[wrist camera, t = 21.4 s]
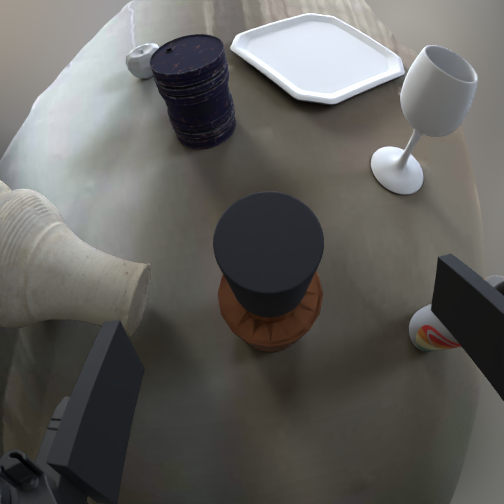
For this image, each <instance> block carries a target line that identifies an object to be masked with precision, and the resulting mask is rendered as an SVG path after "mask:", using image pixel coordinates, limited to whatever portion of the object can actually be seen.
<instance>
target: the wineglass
mask: <svg viewBox="0 0 504 504" xmlns="http://www.w3.org/2000/svg"><path fill="white" fill-rule="evenodd" d="M477 82H478V77H477V74H476V72H475V70H474V69H473V67H472V66H471V65H470V64H469V63H468V62H467V61H466V60H465V59H463V58H462V57H461V56H459V55H458V54H456V53H455V52H452V51H451V50H449V49H446V48H444V47H441V46H437V45H428V46H426V47H425V48H424V49H423V50H422V51H421V52H420V54H419V55H418V56H417V58H416V59H415V61H414V62H413V64H412V66H411V67H410V69H409V71H408V73H407V76H406V78H405V81H404V84H403V87H402V91H401V97H400V102H401V108H402V111H403V114H404V116H405V118H406V120H407V121H408V123H409V124H410V125H411V126H412V127H413V128H414V131H413V134H412V137H411V139H410V141H409V143H408V145H407V147H406V148H405V150H402V149H400V148H396V147H383V148H380V149H378V150H377V151H376V152H375V153H374V154H373V156H372V159H371V168H372V171H373V173H374V175H375V177H376V179H377V180H378V181H379V182H380V183H381V184H382V185H383V186H384V187H385V188H387V189H388V190H390V191H392V192H395V193H398V194H412V193H414V192H416V191H418V190H419V189H420V187H421V186H422V183H423V172H422V169H421V167H420V165H419V163H418V162H417V161H416V159H415V158H414V157H413V156H412V155H410V154H411V152H412V150H413V148H414V146H415V144H416V143H417V141H418V140H419V138H420V137H421V136H422V135H426V136H431V137H441V136H445V135H448V134H450V133H452V132H453V131H454V130H456V129H457V127H458V126H459V125H460V124H461V122H462V121H463V119H464V118H465V116H466V115H467V113H468V111H469V109H470V106H471V104H472V101H473V98H474V95H475V91H476V87H477Z"/></svg>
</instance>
